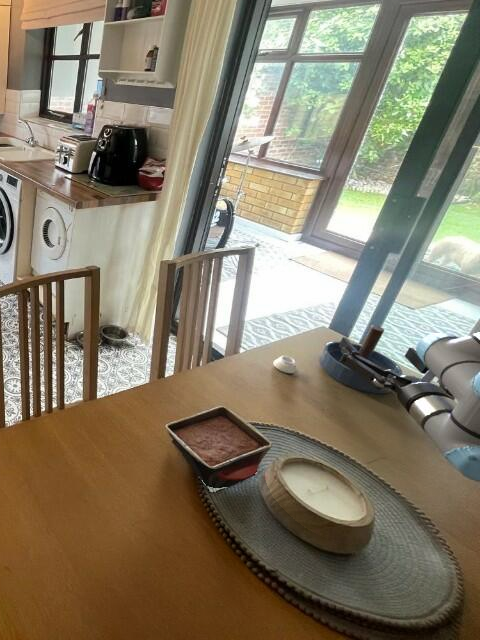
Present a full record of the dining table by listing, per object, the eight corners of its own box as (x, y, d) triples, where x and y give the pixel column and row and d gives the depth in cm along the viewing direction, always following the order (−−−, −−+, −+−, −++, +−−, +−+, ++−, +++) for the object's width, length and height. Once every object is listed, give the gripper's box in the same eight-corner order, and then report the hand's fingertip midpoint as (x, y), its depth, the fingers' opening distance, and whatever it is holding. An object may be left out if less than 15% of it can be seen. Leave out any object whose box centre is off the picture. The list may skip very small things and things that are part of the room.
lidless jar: (285, 361, 113) (268, 362, 113) (289, 353, 112) (272, 353, 112) (300, 374, 109) (282, 374, 108) (304, 365, 107) (286, 366, 107)
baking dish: (153, 444, 91) (158, 416, 85) (222, 420, 93) (231, 391, 88) (200, 509, 79) (210, 480, 73) (278, 479, 81) (292, 449, 76)
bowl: (393, 373, 109) (402, 358, 107) (393, 404, 99) (402, 389, 97) (321, 348, 118) (328, 334, 116) (314, 374, 108) (321, 360, 106)
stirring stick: (361, 371, 108) (384, 328, 102) (360, 376, 107) (384, 332, 101) (349, 367, 110) (371, 324, 104) (348, 372, 108) (371, 328, 102)
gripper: (351, 407, 89) (311, 349, 108) (500, 436, 83) (430, 368, 101) (365, 380, 86) (321, 325, 105) (522, 408, 79) (445, 344, 98)
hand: (374, 346), depth 103 cm, fingers open, 13 cm apart
